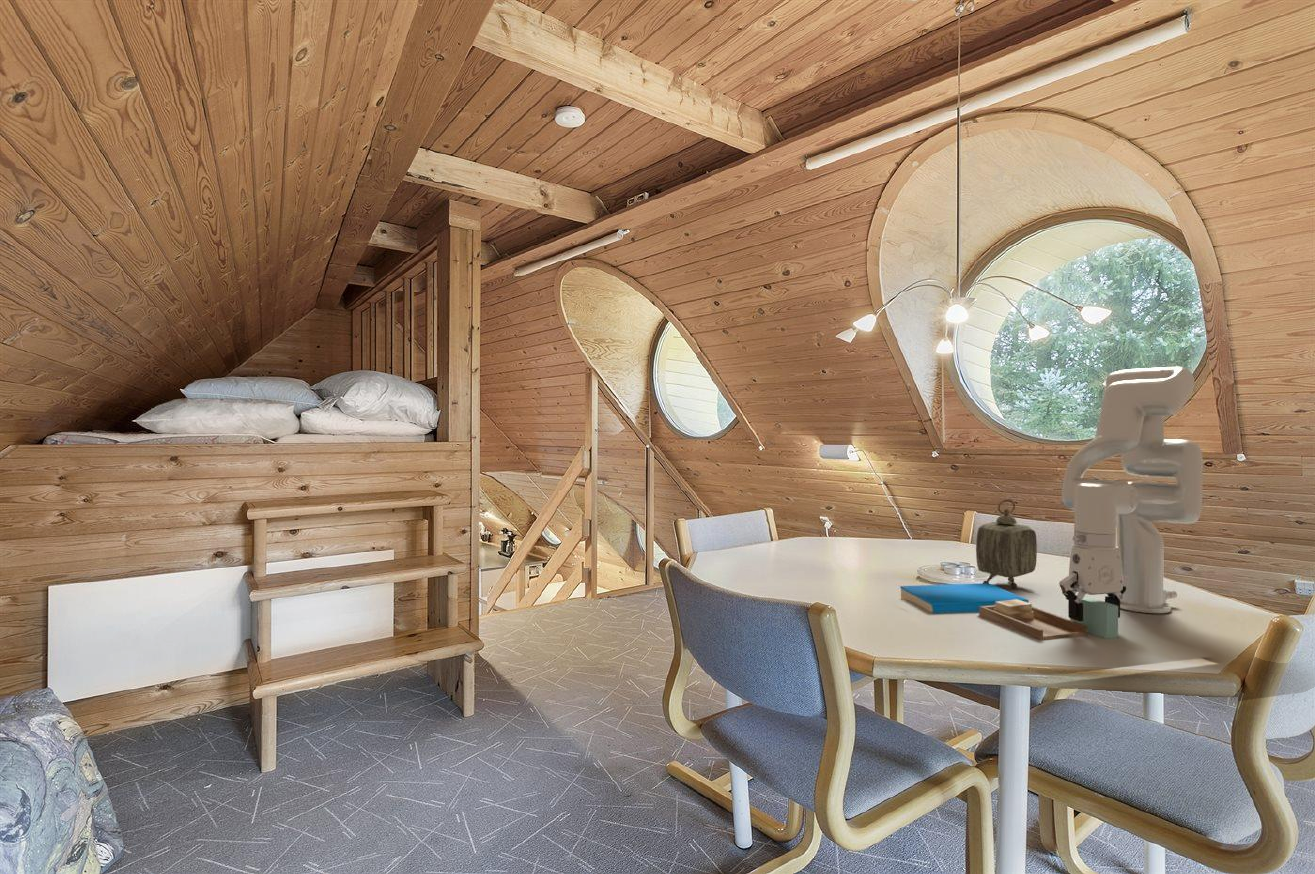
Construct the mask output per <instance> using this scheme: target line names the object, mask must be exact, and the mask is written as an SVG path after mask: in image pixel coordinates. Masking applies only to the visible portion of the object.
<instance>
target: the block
mask: <svg viewBox="0 0 1315 874" xmlns="http://www.w3.org/2000/svg"><path fill="white" fill-rule="evenodd" d="M1075 595H1076V596H1077V594H1075ZM1081 603H1083V621H1077V620H1074V619H1071V618H1069V620H1072V621H1075V622H1078V623H1080V624H1083V625H1086V626H1087V633H1089V634H1090V633H1091V634H1093V635H1095V636H1098V637H1100V638H1101V637H1102V638H1103V639H1116V638H1117V639H1118V638H1119V618H1118V606H1117V605H1113V604H1110V603H1107V602H1105V601H1104V600H1099V599H1096V598H1093V597H1090V596H1086V595H1085V596H1084V597H1083V599H1082V600H1081Z"/></svg>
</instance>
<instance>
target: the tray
mask: <svg viewBox="0 0 1315 874" xmlns="http://www.w3.org/2000/svg"><path fill="white" fill-rule="evenodd" d="M994 609H995V605H991V606H979V614H978V615H979V616H981V617H983V618H985V619H988V620H991V621H993V622H995V623H998V624H999V625H1000V624H1001V625H1003V626H1005V627H1008V628H1010V629H1012V630H1015V631H1016V632H1019V633H1022V634H1024V635H1027V636H1030V637H1032V638H1034V639H1037V640H1039V641H1042V640H1052V639H1062V638H1063V639H1064V638H1072V637H1073V638H1075V637H1082V636H1083V637H1084V636H1087V635H1088V632H1087V626H1086V625H1083V624H1080V623H1078V622H1075V621H1072V620H1070V618H1069V619H1068V618H1067V617H1064V616H1061V615H1057V614H1055V613H1052V612H1050V611H1046V610H1043V609H1040V608H1038V607H1035V606H1032V611H1033V612H1034V620H1024V621H1019V620H1016V619H1014V618H1011V617H1009V616H1006V615H1003V614H1001V613H998V612H996V611H994Z"/></svg>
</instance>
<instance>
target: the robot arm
mask: <svg viewBox="0 0 1315 874" xmlns="http://www.w3.org/2000/svg"><path fill="white" fill-rule="evenodd" d="M1194 388H1195V379H1194V375H1193V373H1192V371H1191V370H1189V369H1188V368H1187V367H1183V366H1166V367H1151V368H1150V367H1149V368H1148V367H1145V368H1143V367H1142V368H1131V369H1121V370H1117V371H1114V372H1111V373H1110V374H1108V376H1106V379H1105V391H1104V392H1103V396H1102V397H1103V398H1102V400H1101V401H1102V402H1101V405H1100V413H1099V417H1098V421H1097V425H1096V426H1097V427H1096V430H1095V431H1096V433H1095V436H1094V437H1093V439H1092V440H1090V441H1088V442H1087V443H1086V444H1085V445H1083V446H1082V447H1081V448H1080V449H1079V450H1078V451H1077V452H1076V453H1075V454H1074V455H1073V456H1072V458H1071V459H1070V460H1069V462H1068V463H1067V466H1066V469H1065V474H1064V477H1063V482H1062V487H1061V501H1062V503H1063V505H1064V506H1065V507H1066V508H1067V509H1069V510H1071V511H1073V513H1074V519H1073V521H1074V523H1073V527H1074V528H1073V530H1074V532H1073V536H1072V541H1073V543H1074V544H1073V545H1072V548H1071V553H1070V557H1069V558H1070V559H1069V567H1068V569H1069V570H1068V575H1067V576H1066V577H1063V579H1061V580H1060V581H1059V582H1058V585H1059V587H1060V589H1061V593H1062V594H1063V595H1064V597H1065V599H1066V600H1067V601H1068V604H1067V605H1068V607H1067V608H1068V618H1069V619H1070V618H1071V619H1074V620H1077V621H1083V603H1081V600H1082V599H1083V597H1084V596H1086V595H1090V596H1092V595H1093V596H1095V595H1105V596H1104V602H1107V603H1110V604H1113V605H1117V606H1118V619H1120V618H1121V609H1122V610H1125V611H1126V610H1127V611H1130V612H1136V613H1137V612H1138V613H1144V614H1166V613H1170V612H1171V611H1172V606H1171V604H1169V603H1167V602H1166V601H1167V600H1168V599H1176V598H1177V597H1178V593H1177V591H1175V590H1166V589H1164V570H1165V569H1164V565H1165V564H1164V559H1165V558H1164V556H1165V554H1164V551H1165V543H1164V542H1165V541H1164V538H1163V536H1162V534H1161V531H1159V529H1157V527H1156V526H1155V524H1153V523H1152V522H1156V523H1157V522H1158V523H1171V524H1182V525H1183V524H1185V525H1190V524H1195V523H1196V522H1198V521H1199V519H1200V517H1201V515H1202V510H1203V507H1202V506H1203V474H1204V471H1203V470H1204V461H1203V459H1204V457H1203V452H1202V450H1201V448H1200V445H1199V444H1198V443H1197V442H1195V441H1193V440H1189V439H1177V438H1176V439H1174V438H1173V439H1169V438H1167V439H1166V438H1165V434H1164V433H1165V419H1164V416H1166V417H1167V416H1173V415H1176V414H1177V413H1178V412H1180V410H1182V408H1183V407H1184V405H1186V404H1187V402H1188V401H1189V400H1190V398H1191V397H1192V395H1193V392H1194V390H1195V389H1194ZM1118 456H1120V459H1121V461H1120V463H1121V467H1122V470H1123V472H1125V473H1126V474H1128V475H1131V476H1136V477H1147V478H1163V479H1164V478H1165V479H1174V480H1176V483H1162V482H1149V481H1147V482H1146V481H1123V480H1109V479H1108V480H1107V479H1091V478H1083V477H1084V475H1085V473H1086V472H1087V471H1088V470H1089V469H1090V468H1091V467H1093V466H1094V465H1097V464H1098V463H1100V462H1103V461H1105V460H1109V459H1111V458H1114V457H1118ZM1076 595H1077V596H1076Z"/></svg>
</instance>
